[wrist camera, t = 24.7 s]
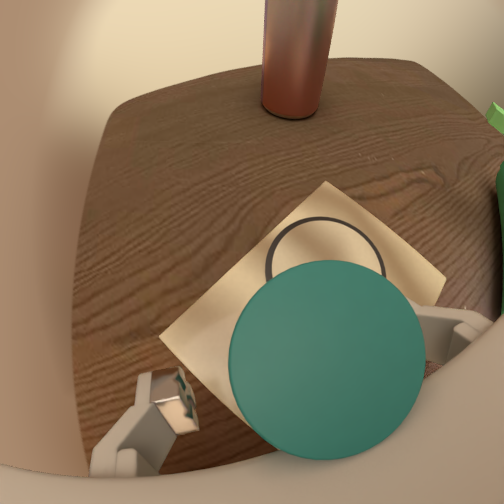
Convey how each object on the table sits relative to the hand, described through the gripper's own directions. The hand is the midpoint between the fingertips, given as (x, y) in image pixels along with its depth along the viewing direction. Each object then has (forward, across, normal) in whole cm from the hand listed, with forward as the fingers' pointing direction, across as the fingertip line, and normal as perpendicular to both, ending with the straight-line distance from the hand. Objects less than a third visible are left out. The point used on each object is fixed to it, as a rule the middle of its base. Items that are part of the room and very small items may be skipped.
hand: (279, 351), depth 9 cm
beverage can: (+20, +10, +11) cm, 25 cm away
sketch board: (+6, +4, -3) cm, 8 cm away
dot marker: (+3, 0, -5) cm, 6 cm away
